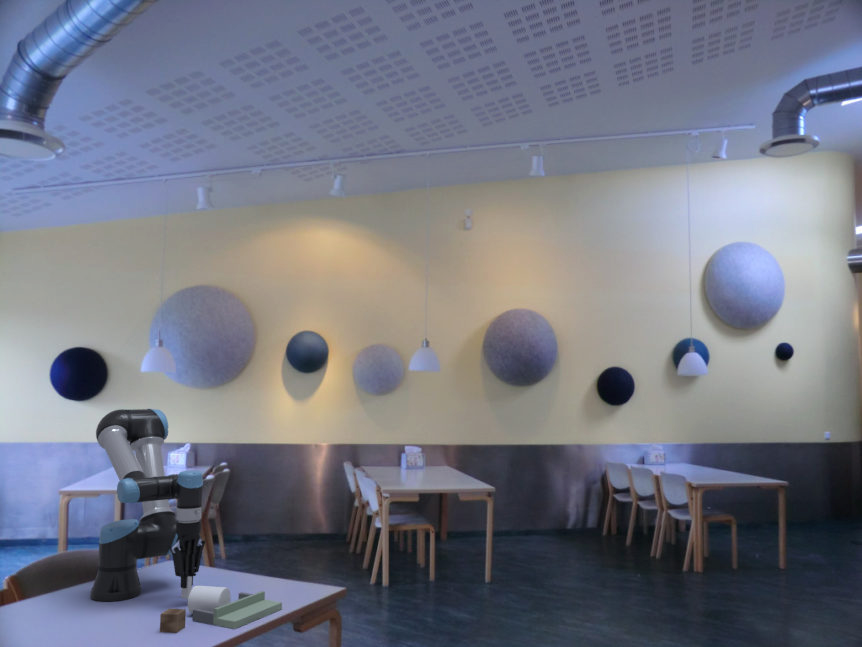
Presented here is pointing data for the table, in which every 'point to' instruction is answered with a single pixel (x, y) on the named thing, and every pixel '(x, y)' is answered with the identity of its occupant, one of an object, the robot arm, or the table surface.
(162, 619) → the walnut block
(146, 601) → the table surface
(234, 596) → the table surface
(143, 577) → the table surface
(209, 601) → the mug
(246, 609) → the green holder tray
